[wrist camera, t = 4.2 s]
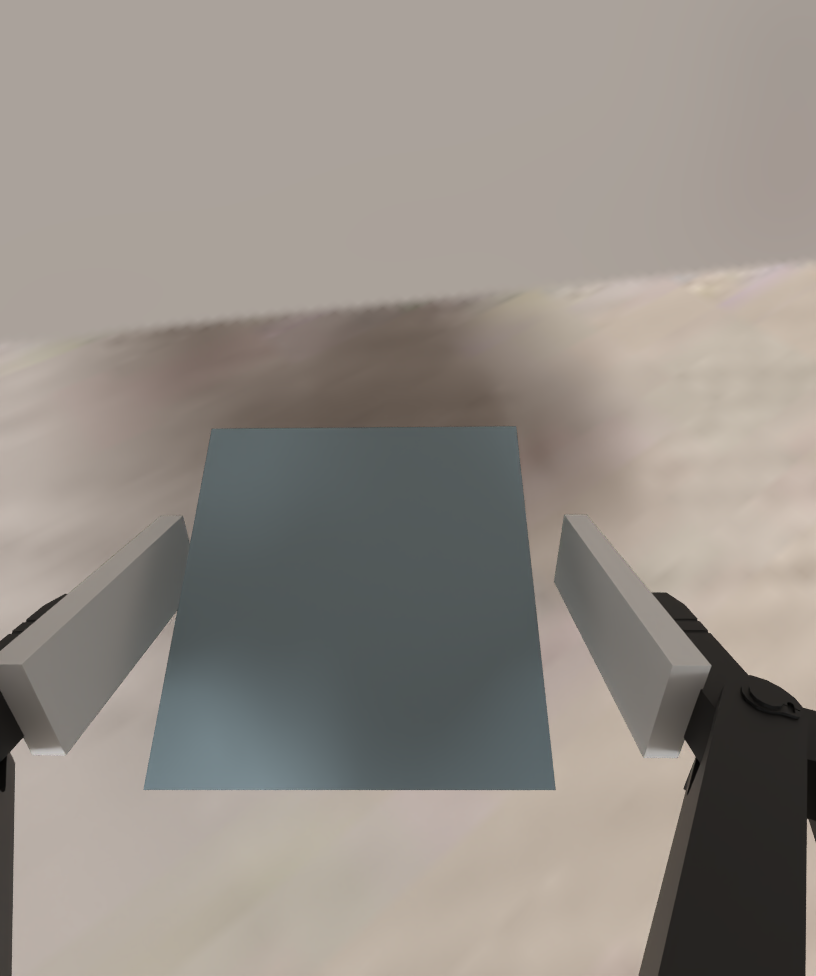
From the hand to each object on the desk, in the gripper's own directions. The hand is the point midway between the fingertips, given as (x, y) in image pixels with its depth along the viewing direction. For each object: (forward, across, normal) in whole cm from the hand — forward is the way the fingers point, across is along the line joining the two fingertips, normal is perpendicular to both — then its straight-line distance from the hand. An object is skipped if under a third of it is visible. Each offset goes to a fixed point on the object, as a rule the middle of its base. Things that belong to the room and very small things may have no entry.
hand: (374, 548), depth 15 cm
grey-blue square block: (+1, 0, -3) cm, 3 cm away
